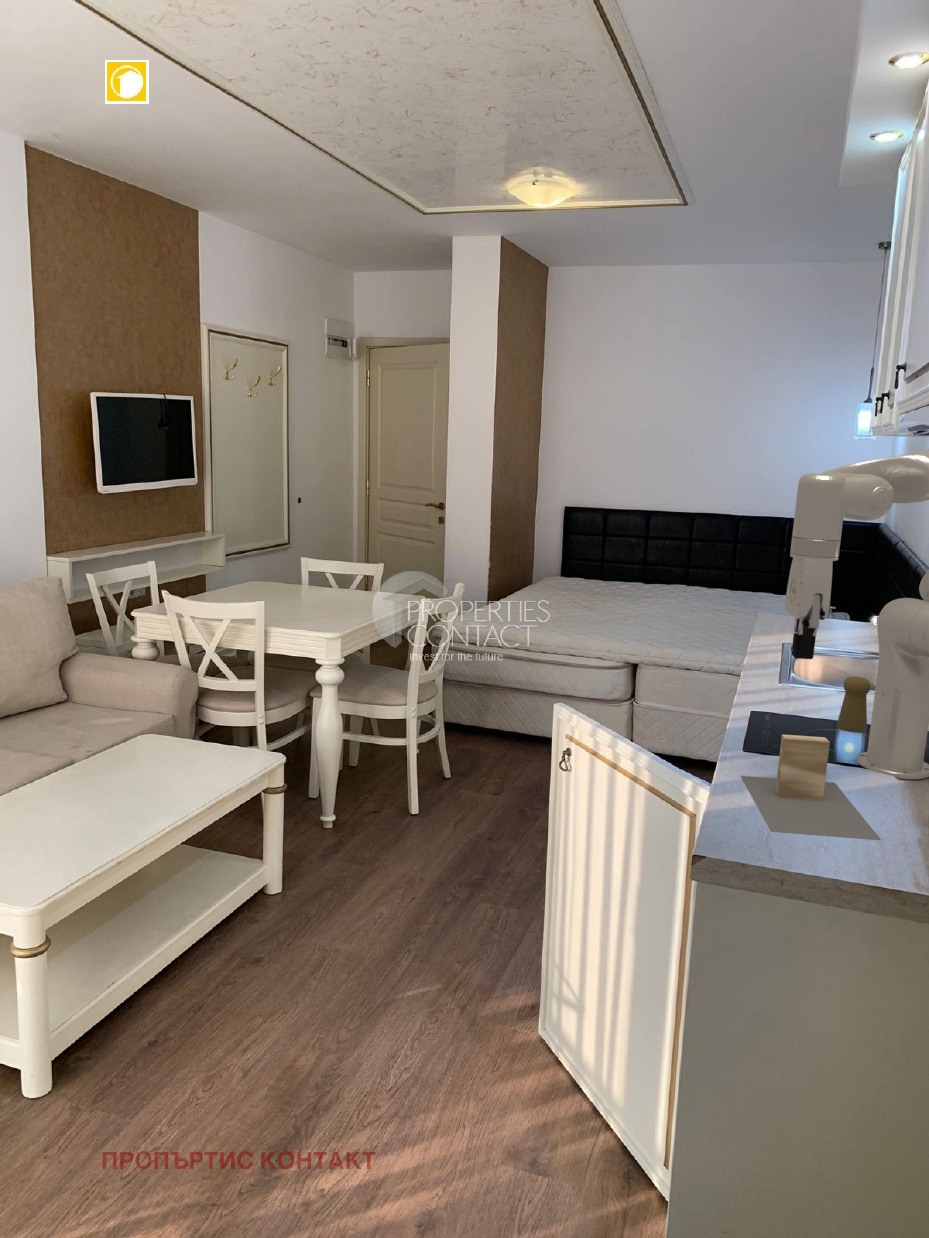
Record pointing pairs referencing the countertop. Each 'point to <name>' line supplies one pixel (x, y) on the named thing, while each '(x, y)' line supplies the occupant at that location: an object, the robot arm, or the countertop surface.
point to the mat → (808, 811)
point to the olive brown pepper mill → (854, 705)
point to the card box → (802, 767)
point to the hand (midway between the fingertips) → (802, 657)
